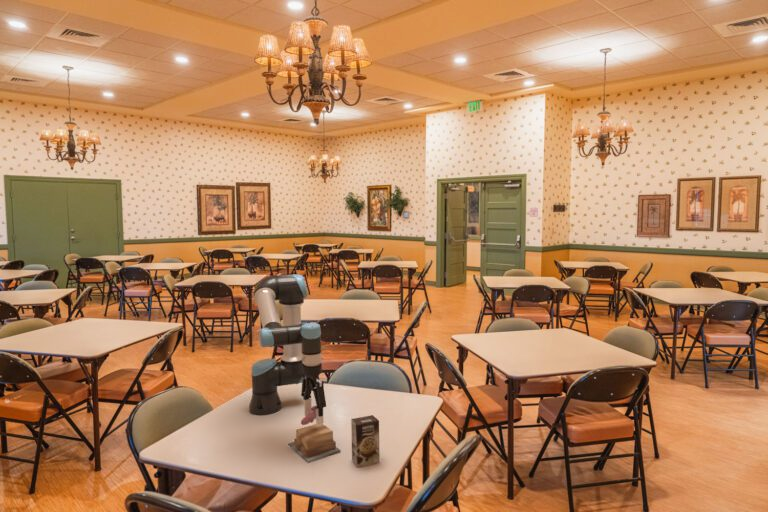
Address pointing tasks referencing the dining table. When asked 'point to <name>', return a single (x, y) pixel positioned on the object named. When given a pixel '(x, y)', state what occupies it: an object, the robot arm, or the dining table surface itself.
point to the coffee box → (365, 440)
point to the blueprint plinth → (314, 443)
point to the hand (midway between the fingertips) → (314, 419)
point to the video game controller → (309, 416)
